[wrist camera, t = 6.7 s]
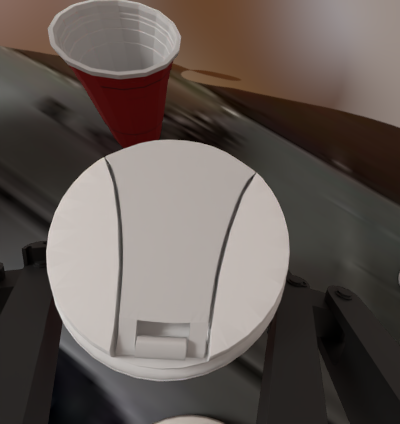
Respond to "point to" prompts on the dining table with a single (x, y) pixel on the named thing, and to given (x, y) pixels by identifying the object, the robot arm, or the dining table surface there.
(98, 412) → the dining table surface
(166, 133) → the dining table surface
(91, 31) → the plastic cup
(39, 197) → the dining table surface
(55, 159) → the dining table surface
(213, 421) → the white round disc
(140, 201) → the coffee cup
